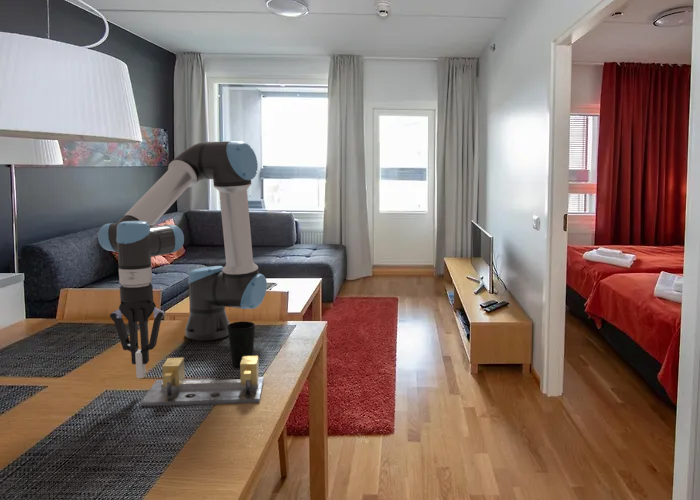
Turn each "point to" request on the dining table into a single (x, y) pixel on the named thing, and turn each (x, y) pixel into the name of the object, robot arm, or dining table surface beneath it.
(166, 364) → the block
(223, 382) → the trammel bar
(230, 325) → the cup
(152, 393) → the bolt plate
